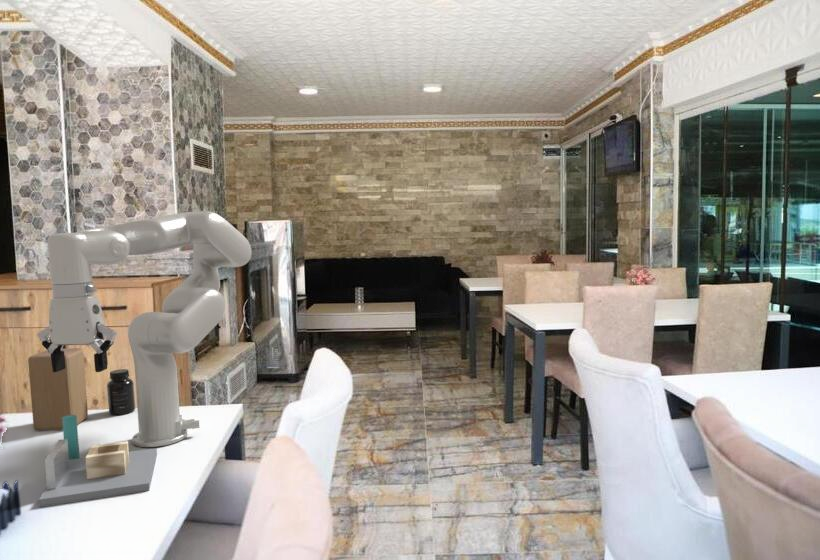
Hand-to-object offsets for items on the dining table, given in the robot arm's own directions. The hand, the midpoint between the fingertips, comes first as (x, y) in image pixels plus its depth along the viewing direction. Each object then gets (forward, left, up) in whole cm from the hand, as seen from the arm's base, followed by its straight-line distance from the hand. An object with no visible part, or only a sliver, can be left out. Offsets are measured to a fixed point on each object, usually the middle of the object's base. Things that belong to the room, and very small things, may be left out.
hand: (80, 370), depth 126 cm
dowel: (+4, -7, -22) cm, 24 cm away
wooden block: (+12, -36, -22) cm, 44 cm away
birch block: (-5, +7, -20) cm, 22 cm away
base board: (-4, +7, -22) cm, 23 cm away
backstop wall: (+4, +7, -20) cm, 22 cm away
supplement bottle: (-2, -42, -22) cm, 48 cm away
